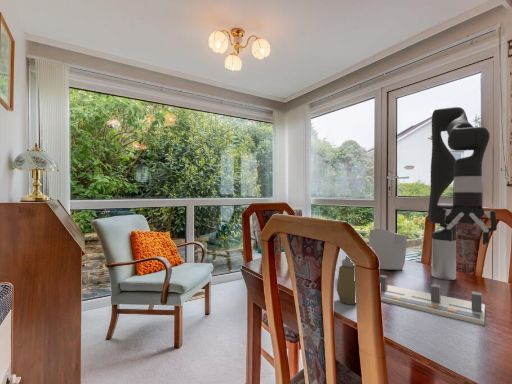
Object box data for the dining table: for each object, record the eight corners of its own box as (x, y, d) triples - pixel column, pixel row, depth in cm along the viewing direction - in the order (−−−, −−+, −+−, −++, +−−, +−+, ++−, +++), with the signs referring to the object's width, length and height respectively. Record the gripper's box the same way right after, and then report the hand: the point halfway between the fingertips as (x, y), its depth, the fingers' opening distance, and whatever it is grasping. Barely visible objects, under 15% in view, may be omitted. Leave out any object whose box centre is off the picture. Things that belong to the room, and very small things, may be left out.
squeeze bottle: (333, 297, 104) (333, 248, 104) (354, 297, 105) (355, 247, 104) (341, 306, 96) (342, 252, 96) (365, 305, 96) (365, 252, 96)
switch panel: (383, 287, 116) (383, 283, 116) (484, 307, 95) (485, 303, 95) (370, 298, 103) (370, 294, 103) (484, 325, 83) (484, 319, 83)
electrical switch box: (410, 273, 143) (414, 233, 145) (390, 272, 137) (394, 230, 138) (385, 266, 157) (389, 229, 158) (365, 265, 150) (370, 227, 151)
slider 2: (472, 306, 92) (472, 291, 92) (481, 308, 91) (481, 292, 91) (471, 309, 90) (471, 293, 90) (481, 311, 88) (481, 295, 88)
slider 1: (380, 287, 110) (380, 274, 110) (387, 289, 108) (387, 275, 108) (378, 289, 108) (378, 276, 108) (385, 291, 106) (385, 277, 106)
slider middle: (432, 298, 99) (432, 284, 99) (440, 300, 98) (440, 285, 98) (430, 300, 97) (431, 286, 97) (439, 302, 95) (439, 287, 95)
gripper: (497, 191, 88) (496, 244, 88) (442, 191, 98) (442, 238, 98) (496, 191, 83) (496, 247, 83) (438, 191, 92) (438, 241, 92)
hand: (467, 242), depth 90 cm, fingers open, 8 cm apart
